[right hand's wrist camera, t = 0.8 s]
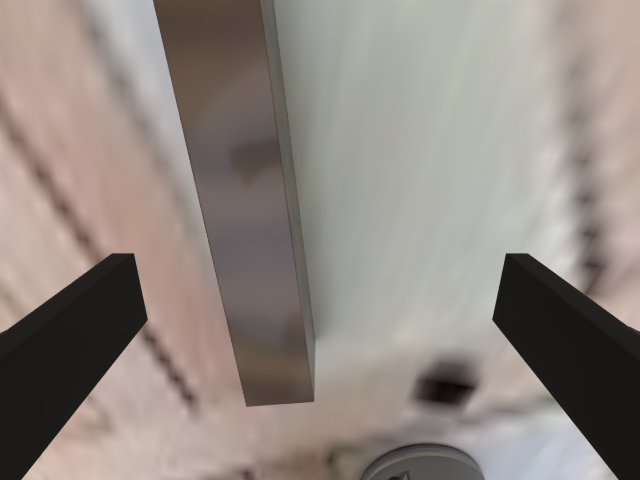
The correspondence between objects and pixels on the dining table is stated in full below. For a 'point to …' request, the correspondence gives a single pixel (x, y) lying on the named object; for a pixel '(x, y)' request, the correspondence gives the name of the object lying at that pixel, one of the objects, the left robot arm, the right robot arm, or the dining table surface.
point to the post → (245, 185)
